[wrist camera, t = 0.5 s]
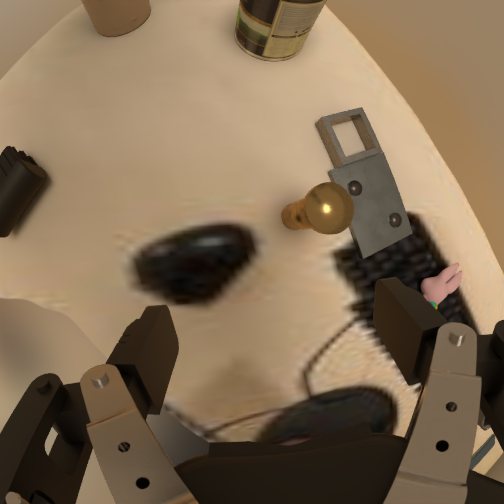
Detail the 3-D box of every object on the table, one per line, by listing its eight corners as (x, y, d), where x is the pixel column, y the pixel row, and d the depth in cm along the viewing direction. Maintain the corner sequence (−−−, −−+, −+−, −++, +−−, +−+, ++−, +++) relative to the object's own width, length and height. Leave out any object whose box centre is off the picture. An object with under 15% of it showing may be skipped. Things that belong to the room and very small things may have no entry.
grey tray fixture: (307, 126, 35) (313, 119, 33) (360, 112, 36) (368, 105, 34) (360, 258, 37) (369, 259, 35) (408, 233, 38) (418, 233, 36)
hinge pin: (270, 206, 35) (298, 192, 24) (302, 193, 36) (342, 175, 24) (284, 240, 36) (318, 242, 24) (316, 226, 36) (361, 223, 24)
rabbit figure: (391, 335, 40) (459, 280, 39) (407, 352, 34) (481, 289, 33) (375, 304, 40) (448, 248, 38) (392, 319, 34) (471, 254, 32)
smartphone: (495, 444, 47) (460, 481, 45) (492, 442, 48) (457, 478, 47) (495, 433, 46) (459, 473, 44) (491, 431, 47) (455, 470, 46)
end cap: (18, 238, 31) (-11, 238, 25) (-4, 206, 30) (-31, 202, 24) (56, 182, 32) (29, 173, 25) (32, 152, 31) (6, 140, 24)
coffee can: (225, 51, 34) (232, -18, 20) (244, 8, 33) (257, -56, 19) (296, 71, 35) (331, 9, 21) (308, 25, 35) (339, -33, 21)
